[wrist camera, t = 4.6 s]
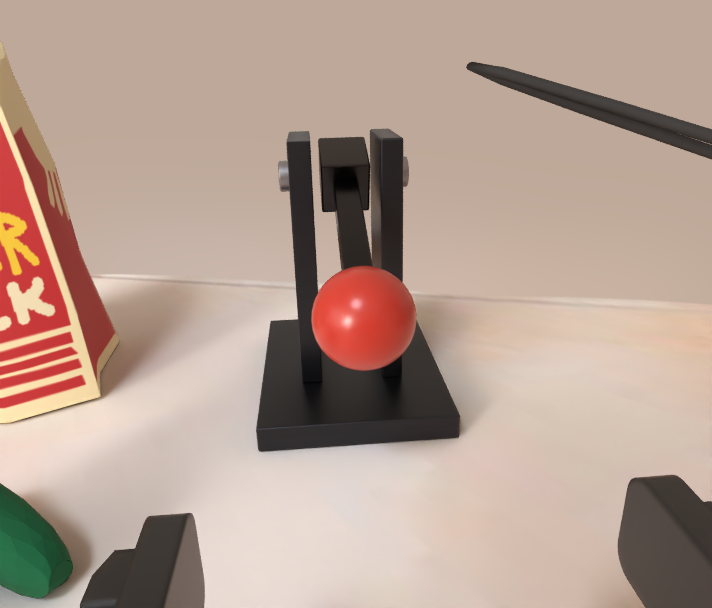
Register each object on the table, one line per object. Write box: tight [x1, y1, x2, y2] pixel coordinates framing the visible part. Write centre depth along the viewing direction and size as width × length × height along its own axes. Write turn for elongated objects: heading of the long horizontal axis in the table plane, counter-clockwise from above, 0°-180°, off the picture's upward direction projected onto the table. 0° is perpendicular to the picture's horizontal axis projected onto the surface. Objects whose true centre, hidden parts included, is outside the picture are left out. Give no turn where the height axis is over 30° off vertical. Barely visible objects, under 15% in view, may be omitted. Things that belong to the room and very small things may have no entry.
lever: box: [312, 137, 416, 371], centre depth 24 cm, size 13×4×4 cm, turn 5°
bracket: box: [256, 129, 460, 451], centre depth 29 cm, size 12×9×13 cm
